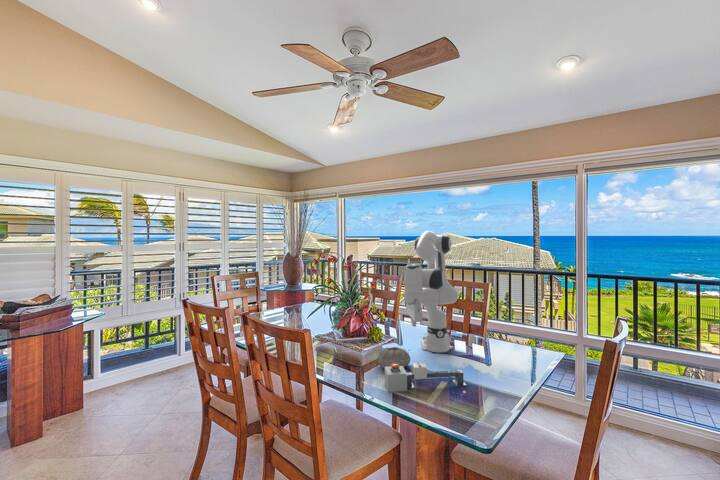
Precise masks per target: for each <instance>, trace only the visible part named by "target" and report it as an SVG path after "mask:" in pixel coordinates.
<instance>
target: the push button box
mask: <svg viewBox="0 0 720 480" xmlns="http://www.w3.org/2000/svg"><path fill="white" fill-rule="evenodd" d="M406 372H407V370H406V369H405V367H403V366H400V367H399V372H392V367H391V366H389V367H385V368H384V385H385V389H386V390H387V393H394V392H397V393H398V392H408V389H407V373H406Z"/></svg>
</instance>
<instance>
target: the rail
mask: <svg viewBox="0 0 720 480" xmlns="http://www.w3.org/2000/svg"><path fill="white" fill-rule="evenodd" d="M406 373H407V390H415V389H416V388H415V386H414V383H413V380H415V379H414V373H412V372H409V371H408V372H407V371H406ZM451 377H454V379H452V380H451V382H452V383H453V384H454V385H455V387H456V388H459V387H460V388H462V387H467V385H468V384H466V382H465V381H464V371H463V370H462V369H456V370H455V369H454V370H441V371H427V379H434V378H451Z"/></svg>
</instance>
